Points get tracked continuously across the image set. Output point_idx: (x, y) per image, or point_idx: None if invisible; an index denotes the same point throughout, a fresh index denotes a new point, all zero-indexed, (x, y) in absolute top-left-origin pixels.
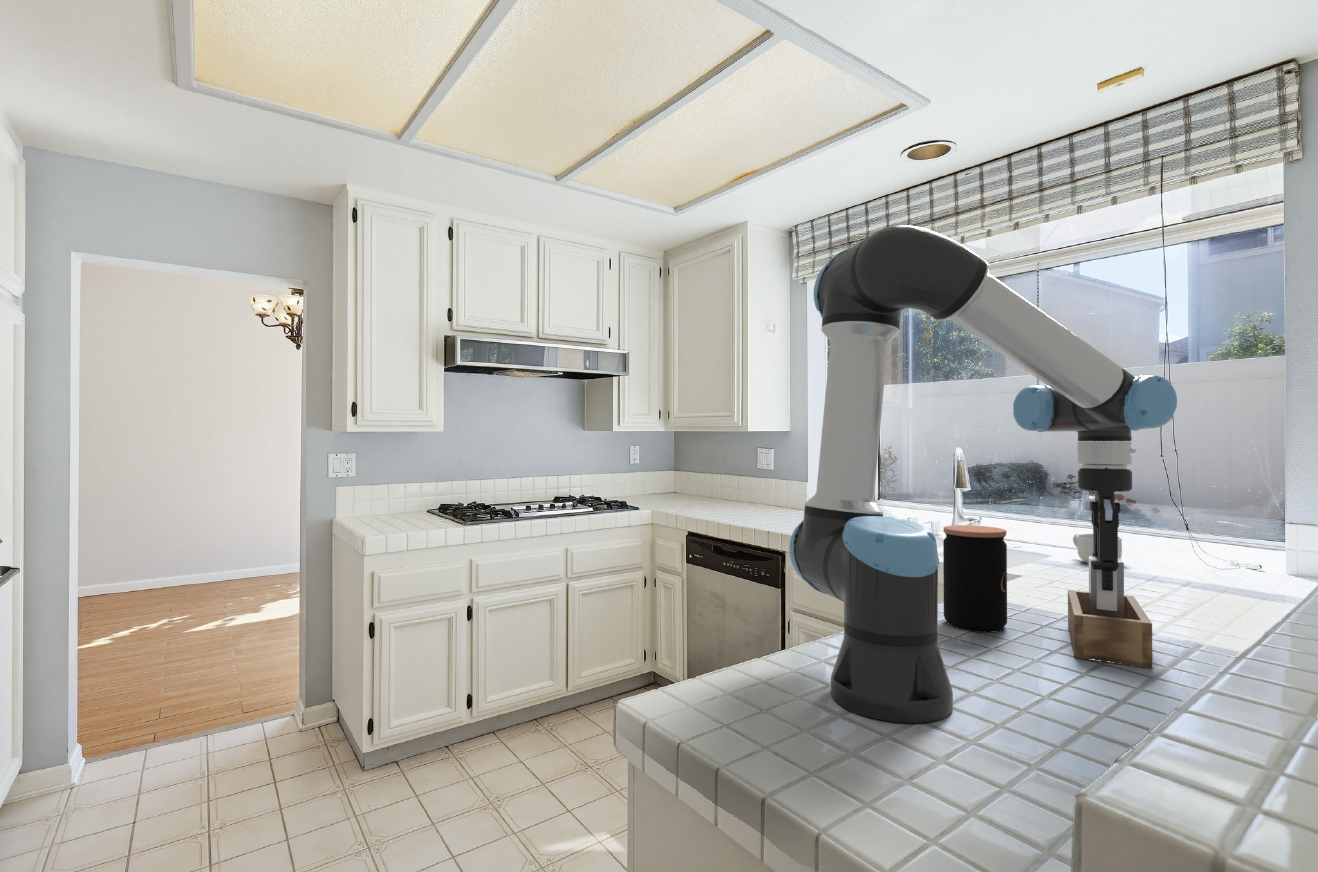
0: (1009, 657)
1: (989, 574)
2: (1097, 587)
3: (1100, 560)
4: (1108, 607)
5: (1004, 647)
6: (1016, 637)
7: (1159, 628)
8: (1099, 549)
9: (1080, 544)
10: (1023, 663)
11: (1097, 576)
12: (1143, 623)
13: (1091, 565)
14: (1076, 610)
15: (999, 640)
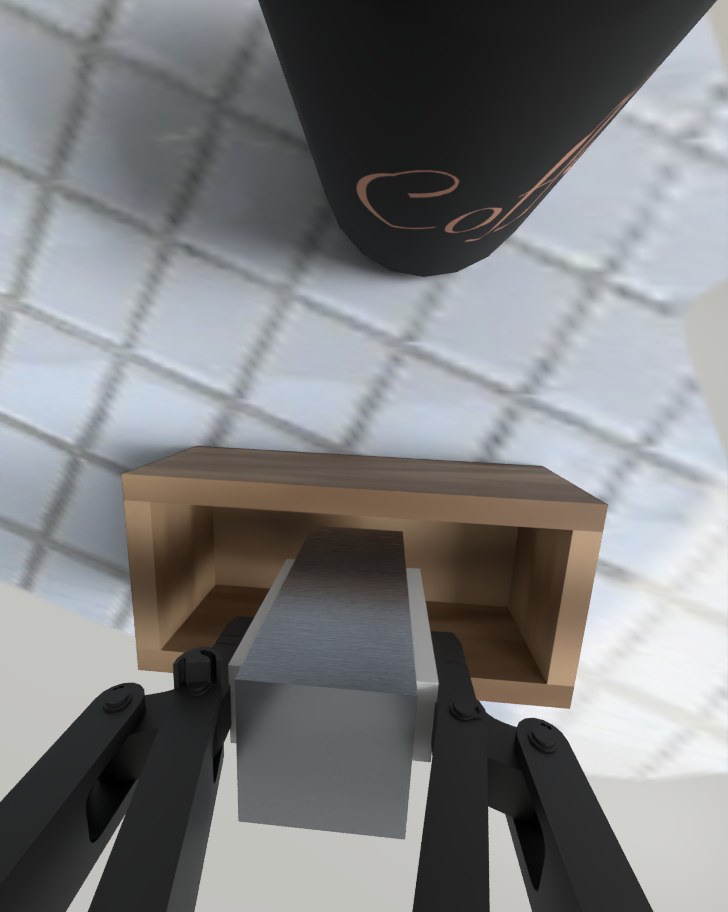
0: (109, 287)
1: (288, 77)
2: (261, 606)
3: (76, 723)
4: None
5: (200, 274)
6: (332, 309)
7: (621, 689)
8: (19, 797)
9: None
10: (77, 321)
11: (242, 639)
12: (137, 648)
13: (249, 657)
14: (196, 489)
15: (270, 259)
